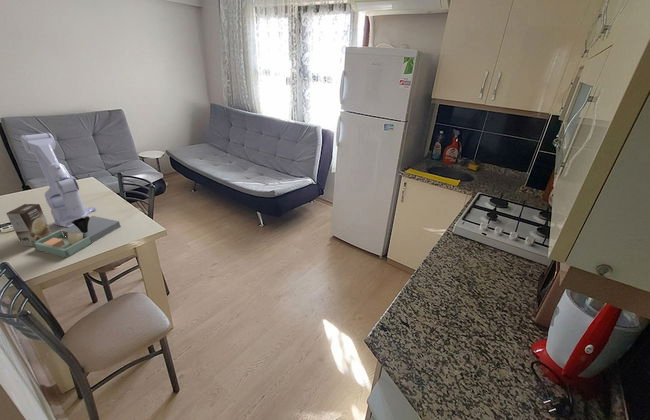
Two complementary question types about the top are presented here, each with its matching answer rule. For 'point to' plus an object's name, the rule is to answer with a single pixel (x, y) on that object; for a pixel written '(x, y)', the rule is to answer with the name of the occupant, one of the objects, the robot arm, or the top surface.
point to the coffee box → (29, 223)
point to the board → (95, 228)
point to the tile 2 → (74, 237)
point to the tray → (63, 250)
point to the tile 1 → (55, 242)
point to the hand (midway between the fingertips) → (84, 232)
